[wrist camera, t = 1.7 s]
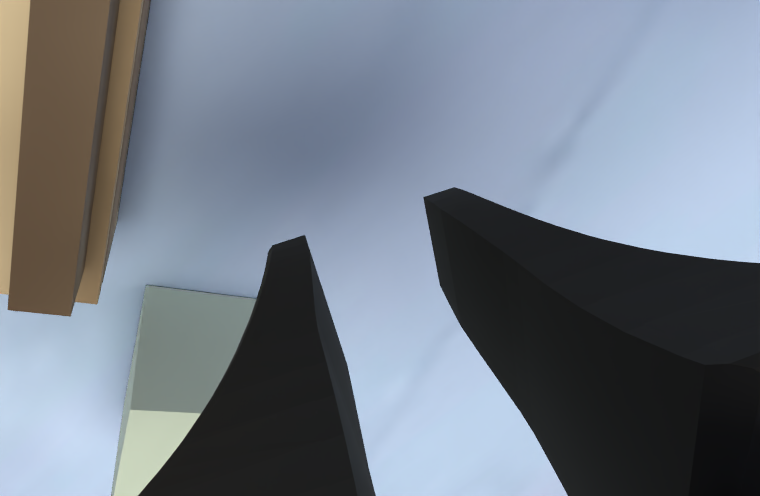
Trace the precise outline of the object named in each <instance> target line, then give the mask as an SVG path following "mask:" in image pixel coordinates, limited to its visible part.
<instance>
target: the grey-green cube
mask: <svg viewBox="0 0 760 496" xmlns="http://www.w3.org/2000/svg"><path fill="white" fill-rule="evenodd" d="M255 302H256V299H253V298H245V297H237V296H229V295H221V294H213V293H205V292H197V291H189V290H181V289H173V288H165V287H157V286H149V285H146V287H145V292H144V298H143V303H142V309H141V314H140V320H139V325H138V330H137V336H136V341H135V347H134V352H133V358H132V363H131V368H130V374H129V379H128V385H127V390H126V396H125V401H124V406H123V413H122V420H121V427H120V435H119V442H118V449H117V456H116V463H115V470H114V477H113V484H112V492H111V496H138V495H139V494H140V493H141V491H142V490H143V489H144V488H145V487H146V486H147V484H148V483H149V482H150V481H151V480H152V478H153V477H154V476H155V475H156V474H157V473H158V471H159V470H160V469H161V468H162V466H163V465H164V464H165V463H166V461H167V460H168V459H169V458H170V456H171V455H172V454H173V452H174V451H175V450H176V449H177V447H178V446H179V445H180V443H181V442H182V441H183V439H184V438H185V436H186V435H187V433H188V432H189V430H190V429H191V428H192V426H193V425H194V423H195V422H196V420H197V419H198V417H199V416H200V414H201V413H202V411H203V410H204V408H205V407H206V405H207V404H208V402H209V400H210V399H211V397H212V396H213V394H214V392H215V390H216V388H217V387H218V385H219V383H220V381H221V380H222V378H223V376H224V374H225V372H226V370H227V368H228V366H229V364H230V362H231V360H232V358H233V356H234V354H235V352H236V350H237V347H238V345H239V343H240V340H241V338H242V336H243V333H244V331H245V329H246V326H247V324H248V322H249V319H250V316H251V314H252V311H253V308H254V305H255Z"/></svg>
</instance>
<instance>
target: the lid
mask: <svg viewBox="0 0 760 496" xmlns="http://www.w3.org/2000/svg"><path fill="white" fill-rule="evenodd" d="M143 1H144V0H0V294H8V295H9V299H8V310H13V311H23V312H32V313H42V314H52V315H62V316H71V313H72V309H73V306H74V303H75V302H81V303H90V304H97V303H98V299H99V295H100V291H101V285H102V278H103V271H104V264H105V258H106V251H107V244H108V237H109V231H110V224H111V217H112V210H113V204H114V197H115V190H116V183H117V177H118V170H119V163H120V156H121V150H122V143H123V136H124V129H125V123H126V116H127V109H128V102H129V96H130V89H131V82H132V75H133V69H134V62H135V55H136V48H137V42H138V35H139V28H140V21H141V15H142V8H143Z"/></svg>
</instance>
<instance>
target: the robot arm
mask: <svg viewBox="0 0 760 496" xmlns="http://www.w3.org/2000/svg"><path fill="white" fill-rule="evenodd" d="M423 198H424V203H425V208H426V214H427V219H428V224H429V230H430V235H431V240H432V245H433V251H434V256H435V261H436V266H437V272H438V277H439V282H440V286H441V288H442V290H443V292H444V294H445V296H446V298H447V300H448V302H449V304H450V306H451V308H452V310H453V312H454V314H455V316H456V318H457V320H458V321H459V323H460V325H461V327H462V328H463V330H464V331H465V333H466V334H467V336H468V337H469V339H470V340H471V342H472V343H473V344H474V346H475V347H476V349H477V350H478V352H479V353H480V355H481V356H482V358H483V359H484V360H485V362H486V363H487V365H488V366H489V368H490V369H491V370H492V372H493V373H494V375H495V376H496V378H497V379H498V380H499V382H500V383H501V385H502V386H503V388H504V389H505V390H506V392H507V393H508V395H509V396H510V398H511V399H512V400H513V402H514V403H515V405H516V406H517V408H518V409H519V410H520V412H521V413H522V415H523V417H524V418H525V420H526V421H527V423H528V424H529V426H530V428H531V429H532V431H533V432H534V434H535V436H536V438H537V440H538V441H539V443H540V445H541V447H542V449H543V450H544V452H545V454H546V456H547V458H548V460H549V461H550V463H551V465H552V467H553V469H554V470H555V472H556V474H557V476H558V478H559V480H560V481H561V483H562V485H563V487H564V489H565V491H566V493H567V495H568V496H760V263H749V262H737V261H727V260H717V259H708V258H701V257H694V256H687V255H680V254H673V253H666V252H660V251H654V250H649V249H643V248H639V247H634V246H630V245H625V244H621V243H616V242H612V241H607V240H603V239H599V238H596V237H592V236H588V235H585V234H581V233H578V232H575V231H572V230H568V229H565V228H562V227H559V226H555V225H552V224H550V223H547V222H544V221H541V220H538V219H535V218H533V217H530V216H527V215H524V214H522V213H519V212H517V211H514V210H511V209H509V208H506V207H504V206H501V205H499V204H496V203H494V202H492V201H489V200H487V199H484V198H482V197H479V196H477V195H474V194H472V193H469V192H467V191H464V190H461V189H458V188H455V187H454V188H451V189H448V190H444V191H441V192H438V193H435V194H432V195H429V196H426V197H423ZM138 496H376V495H375V492H374V488H373V484H372V480H371V476H370V472H369V468H368V463H367V458H366V453H365V448H364V444H363V439H362V434H361V429H360V424H359V419H358V414H357V410H356V405H355V400H354V395H353V390H352V385H351V381H350V376H349V371H348V366H347V363H346V360H345V357H344V354H343V351H342V348H341V344H340V341H339V338H338V335H337V332H336V329H335V326H334V323H333V320H332V317H331V314H330V311H329V308H328V305H327V302H326V299H325V295H324V292H323V289H322V286H321V283H320V280H319V277H318V274H317V271H316V268H315V265H314V262H313V259H312V256H311V253H310V250H309V247H308V243H307V240H306V237H305V235H304V236H300V237H297V238H294V239H291V240H288V241H285V242H282V243H279V244H275V245H272V247H271V248H270V250H269V252H268V257H267V262H266V267H265V272H264V276H263V279H262V283H261V286H260V290H259V293H258V296H257V299H256V302H255V305H254V308H253V311H252V314H251V316H250V319H249V322H248V324H247V326H246V329H245V331H244V333H243V336H242V338H241V340H240V343H239V345H238V347H237V350H236V352H235V354H234V356H233V358H232V360H231V362H230V364H229V366H228V368H227V370H226V372H225V374H224V376H223V378H222V380H221V381H220V383H219V385H218V387H217V388H216V390H215V392H214V394H213V396H212V397H211V399H210V400H209V402H208V404H207V405H206V407H205V408H204V410H203V411H202V413H201V414H200V416H199V417H198V419H197V420H196V422H195V423H194V425H193V426H192V428H191V429H190V430H189V432H188V433H187V435H186V436H185V438H184V439H183V441H182V442H181V443H180V445H179V446H178V447H177V449H176V450H175V451H174V452H173V454H172V455H171V456H170V458H169V459H168V460H167V461H166V463H165V464H164V465H163V466H162V468H161V469H160V470H159V471H158V473H157V474H156V475H155V476H154V477H153V478H152V480H151V481H150V482H149V483H148V484H147V486H146V487H145V488H144V489H143V490H142V491H141V493H140V494H139V495H138Z"/></svg>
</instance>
